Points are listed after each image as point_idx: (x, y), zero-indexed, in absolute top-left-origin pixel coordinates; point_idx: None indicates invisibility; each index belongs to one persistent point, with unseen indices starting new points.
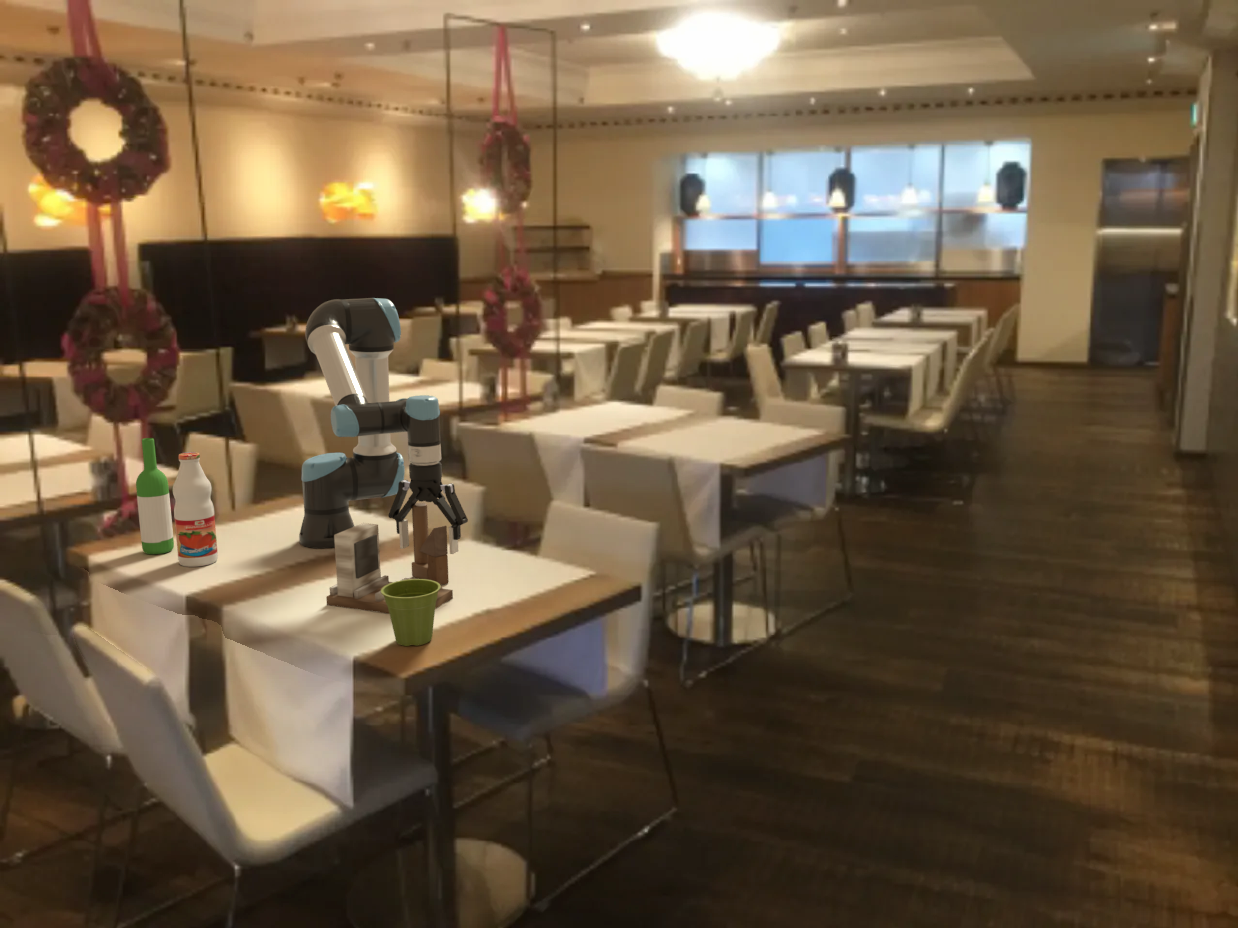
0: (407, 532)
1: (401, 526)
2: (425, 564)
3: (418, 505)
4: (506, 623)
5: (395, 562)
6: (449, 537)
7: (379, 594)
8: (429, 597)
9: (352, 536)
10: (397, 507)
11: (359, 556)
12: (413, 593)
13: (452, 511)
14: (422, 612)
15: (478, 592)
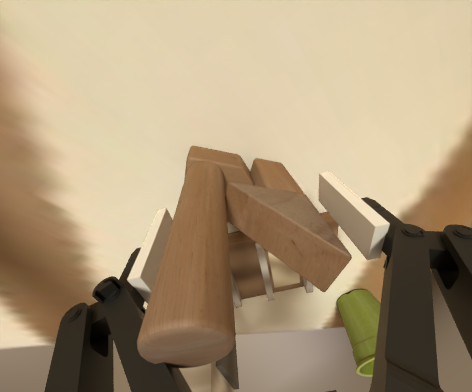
0: (157, 241)
1: None
2: (225, 182)
3: (204, 360)
4: None
5: (53, 118)
6: (344, 230)
7: (273, 298)
8: None
9: None
10: (106, 373)
11: (235, 352)
12: (372, 337)
13: (427, 292)
14: None
15: (360, 169)
